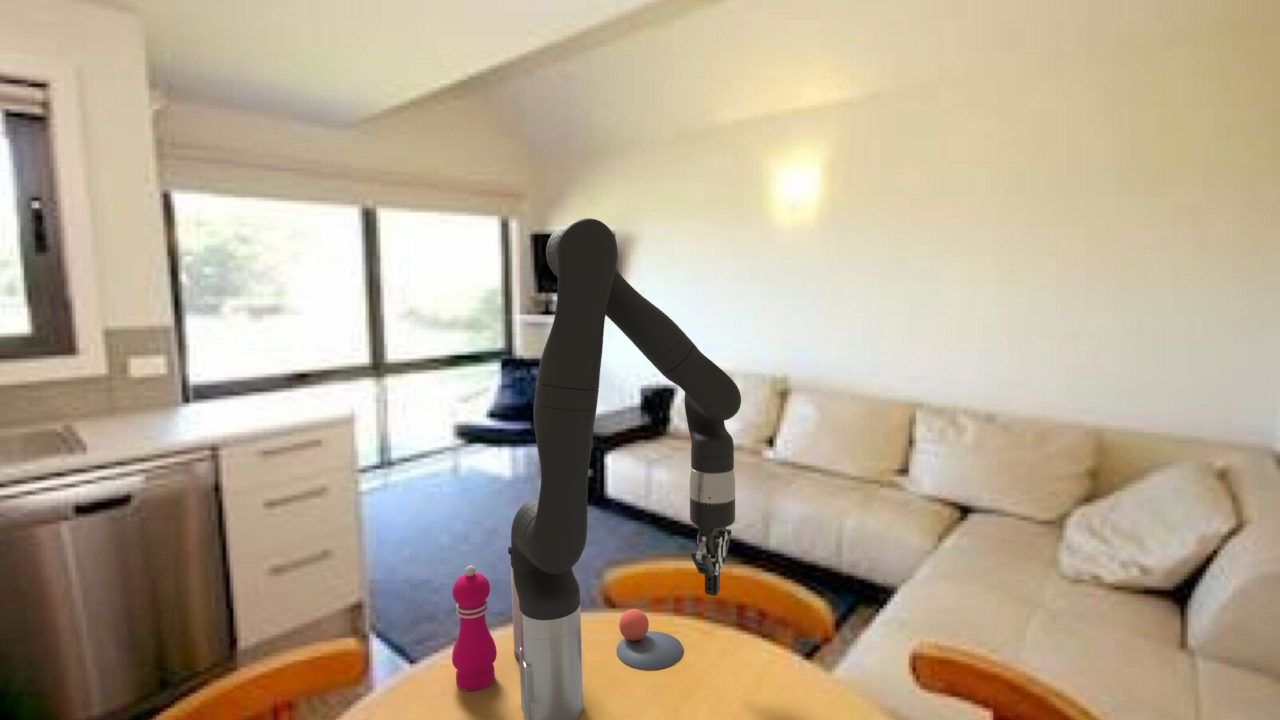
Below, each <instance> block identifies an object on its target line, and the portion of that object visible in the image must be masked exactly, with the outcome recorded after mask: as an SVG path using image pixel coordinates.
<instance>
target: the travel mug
mask: <svg viewBox="0 0 1280 720" xmlns="http://www.w3.org/2000/svg"><path fill="white" fill-rule="evenodd" d="M507 553H508V555H510V578H511V581H510V583H511V604H512V605H511V608H512V609H511V610H512V629H513V630H512V633H513V653H514V656H515V657H516V658H517V659H518V660H520V659H519V648H521V636H520V611H519V598H518V594H517V591H516V588H515V583H514V575H513V562H512V548H511V546H510V547H508V548H507Z"/></svg>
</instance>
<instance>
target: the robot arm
mask: <svg viewBox="0 0 1280 720" xmlns="http://www.w3.org/2000/svg"><path fill="white" fill-rule="evenodd" d="M618 253H619V252H618V244H617V240H616V238H615V235H614V233H613V231H612V230H611V229H610V227H608V225H606V224H605V223H604V222H602V221H601V220H598V219H595V218H591V217H590V218H579V219H576V220H574V221H571V222H569V223H567V224H564V225H563V226H561V227H559V228H557V229H556V230H554V232H553V233H552V234H551V235H550V237H549V239H548V241H547V244H546V247H545V256H546V261H547V265H548V267H549V269H550V270H551V271H552V273H553V274H554V275H555V276H556V277H557V293H556V294H557V295H556V305H555V313H554V317H553V318H554V319H553V322H552V325H551V329H550V331H549V334H548V337H547V340H546V342H545V345H544V349H543V352H542V355H541V358H540V362H539V366H538V369H537V375H536V383H535V392H534V401H533V427H534V435H535V441H536V447H537V453H538V457H539V464H540V486H539V487H540V488H539V496H537V497H535V498H532V499H529V500H527V501H526V502H525V503H523V504H522V505H521V506H520V507H519V508H518V510H517V512H516V513H515V516H514V518H513V520H512V525H511V531H510V542H511V543H510V547H511V548H512V562H513V575H514V583H515V588H516V591H517V594H518V598H519V611H520V636H521V648H519V659H518V660H519V677H520V679H519V683H520V684H519V685H520V703H521V704H520V705H521V708H522V714H523V717H524V720H578V719H579V718H580V716H581V715H582V713H583V710H584V689H583V688H584V687H583V685H584V684H583V654H582V627H581V626H582V624H581V623H582V622H581V618H582V617H581V613H582V612H581V588H580V585H579V583H578V580H577V578H576V576H575V574H574V571H573V568H574V567H575V565H576V564H577V563H578V562H579V560H580V558H581V557H582V555H583V553H584V550H585V547H586V542H587V538H588V536H587V535H588V500H589V499H588V497H589V495H588V494H589V492H588V490H589V489H588V488H589V474H590V473H589V472H590V464H591V463H590V462H591V457H592V450H593V449H592V447H593V437H594V429H595V427H594V426H595V420H596V414H597V407H598V401H599V400H598V399H599V390H600V380H601V378H600V376H601V367H602V358H603V357H602V356H603V348H604V347H603V345H604V331H605V320H606V317H607V318H608V319H609V320H610V321H611V322H612V323H613V324H614V325H616V327H617V328H618V329H619V330H620V331H621V332H622V333H623V334H624V335H625V336H626V338H628V339H629V341H631V343H633V345H634V346H635V347H636V348H637V349H638V350H639V351H640V352H641V354H643V356H644V357H645V358H646V359H647V360H648V361H649V362H650V363H651V364H652V365H653V366H654V367H655V369H656V370H658V372H659V373H660V374H661V375H662V376H664V377H665V379H667V380H668V381H669V382H672V383H673V384H675V385H676V386H678V387H679V388H680V389H682V391H684V399H683V400H684V410H685V416H686V422H687V423H686V424H687V429H688V433H689V436H690V441H691V444H690V466H691V467H690V475H689V519H690V522H691V523H692V524H693V525H695V526H696V527H697V528H698V534H697V537H696V538H697V541H696V542H697V544H698V549H697V551H696V550H692V553H691V559H692V561H693V563H694V566H695V567H696V570H697V572H698V573H699V574H701V575H704V593H705V594H707V595H709V596H714V597H715V596H717V595H718V594H719V593H720V591H721V571H722V570H723V564H724V565H725V564H726V562H727V561H726V560H727V557H728V556H727V555H728V551H729V546H730V542H731V541H730V540H731V536H732V529H729V528H728V527H730V526H731V525H733V524H734V523H735V522H736V476H735V451H734V450H735V449H734V447H735V446H734V439H733V436H732V435H731V434H730V433H729V432H728V430H727V428H726V426H725V425H726V424H725V421H728V420H731V419H732V418H734V417H735V416H736V414H737V413H738V412H739V411H740V408H741V404H742V396H741V392H740V389H739V387H738V385H737V384H736V382H735V381H734V380H733V378H731V377H730V376H729V375H728V374H727V373H726V372H725V371H724V370H723V369H722V368H721V367H719V365H717V364H716V363H714V362H713V361H712V360H711V359H710V358H708V357H707V356H706V355H705V354H704V353H703V352H702V351H701V350H700V349H699V348H698V347H697V345H696V344H695V343H694V342H693V341H692V340H691V339H690V338H689V336H688V335H687V334H686V333H685V332H684V331H683V330H682V329H681V328H680V326H679V325H678V324H677V323H676V322H675V321H674V320H673V319H672V318H671V317H670V316H668V315H667V314H666V313H665V312H664V311H662V310H661V309H660V308H658V307H657V306H656V305H655V304H653V302H651V301H650V300H648V299H647V298H645V296H643V295H642V294H641V293H639V291H637V290H636V289H635V288H634V287H633V286H632V285H631V284H630V283H629V282H628V281H627V280H626V279H625V278H624V277H623V276H622V275H621V273H620V272H619V270H618V269H617V264H618V256H619V254H618Z"/></svg>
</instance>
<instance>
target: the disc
mask: <svg viewBox="0 0 1280 720" xmlns="http://www.w3.org/2000/svg"><path fill="white" fill-rule="evenodd" d="M615 652H616V657H618V659H619V661H621V662H622V663H623V664H625V665H626V666H628V667H630V668H633V669H637V670H641V671H642V670H643V671H654V670H655V671H656V670H662V669H665V668H669V667H671V666H673V665H675V664H676V663H678V662H679V660H680V659H682V656H683V654H684V646H683V644H682V643H681V642H680V640H679V639H678V638H676V637H675V636H673V635H671V634H668V633H665V632H661V631H656V630H648V631H647V633H646V635H645V636H644V637H643V638H642V639H640V640H637V641H630V640H628V639H626V638H625V637H624V638H622V639H621V640H620V641H619V643H618V644H617V646H616V651H615Z"/></svg>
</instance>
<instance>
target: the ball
mask: <svg viewBox="0 0 1280 720" xmlns="http://www.w3.org/2000/svg"><path fill="white" fill-rule="evenodd" d="M649 626H650V623H649V619H648V616H647V615H646V613H644V612H643V611H642V610H640V609H637V608H630V609H627V610H626V611H625V612H623V613H622V615H621V616H620V618H619V624H618V627H619V631H620V634H621V635H622V636H623V637H624V638H626V639H628V640H630V641H637V640H640V639H642V638H643V637H644V636H645V635H646V633H647V631H649V629H650V628H649Z"/></svg>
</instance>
